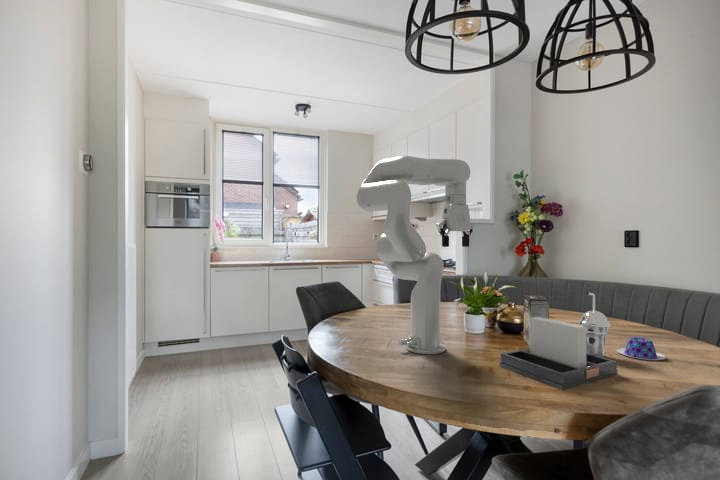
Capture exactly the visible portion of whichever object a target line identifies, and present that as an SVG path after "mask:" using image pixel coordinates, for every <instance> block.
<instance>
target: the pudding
mask: <svg viewBox="0 0 720 480" xmlns="http://www.w3.org/2000/svg"><path fill="white" fill-rule="evenodd" d="M616 352H617V353H619V354H621V355H624V356H626V357H630V358H634V359H639V360H646V361H647V360H648V361H651V360H653V361H662V360H666V358H667V357H666V355H663V354H662V353H659V352H656V349H655V345H654V342H653V341H652V340H651V339H649V338H644V337H638V336H637V337H636V336H632V337H629V338H628V339H627V343H626V346H625V347H621V348H618V349H616Z"/></svg>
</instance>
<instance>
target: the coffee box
mask: <svg viewBox="0 0 720 480" xmlns="http://www.w3.org/2000/svg"><path fill="white" fill-rule="evenodd" d="M532 317H542V318H547V319H550V299H548V298H547V297H545V296H543V295H523V340H524V342H526V343H527V345H528V346H529V347H530V318H532Z"/></svg>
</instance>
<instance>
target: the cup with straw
mask: <svg viewBox="0 0 720 480" xmlns="http://www.w3.org/2000/svg"><path fill="white" fill-rule="evenodd" d="M585 293H586V295H589V296H592V310H588V311H586V312H584V313H583V314H582V316H581V318H579V319H578V325H581V326H586V353H588V354H592V355H595V356H599V357H603V358H604V354H605V348H606V340H607V335H608V331H609V327H610V328H611V327H612V324H611V322H610V321H609V320H608V318H607V317H606V315H605V314H604V313H602V312H600V311H598V310H596V295H595V293H593V292H589V291H586V292H585Z"/></svg>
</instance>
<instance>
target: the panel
mask: <svg viewBox="0 0 720 480" xmlns="http://www.w3.org/2000/svg"><path fill="white" fill-rule="evenodd" d="M529 348H530V353H532V354H536V355H539V356H542V357H545V358H548V359H552V360H555V361H558V362H561V363H565V364H568V365H571V366H574V367H577V368H584V367H586V326H581V324H577V323H576V324H575V323H570V322H565V321H560V320H555V319H550V318H549V319H547V318H542V317H532V318H530V346H529Z"/></svg>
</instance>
